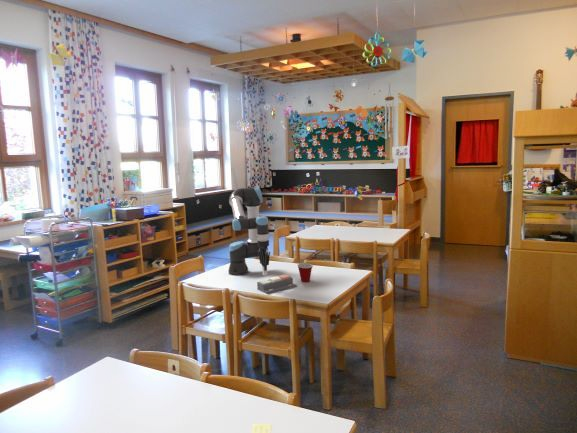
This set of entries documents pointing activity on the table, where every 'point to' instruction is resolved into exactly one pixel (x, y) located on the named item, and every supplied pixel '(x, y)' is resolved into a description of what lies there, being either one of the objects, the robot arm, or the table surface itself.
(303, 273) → the plastic cup
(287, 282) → the keypad
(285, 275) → the terracotta key
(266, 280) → the sage key
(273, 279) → the cream key
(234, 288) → the table surface
